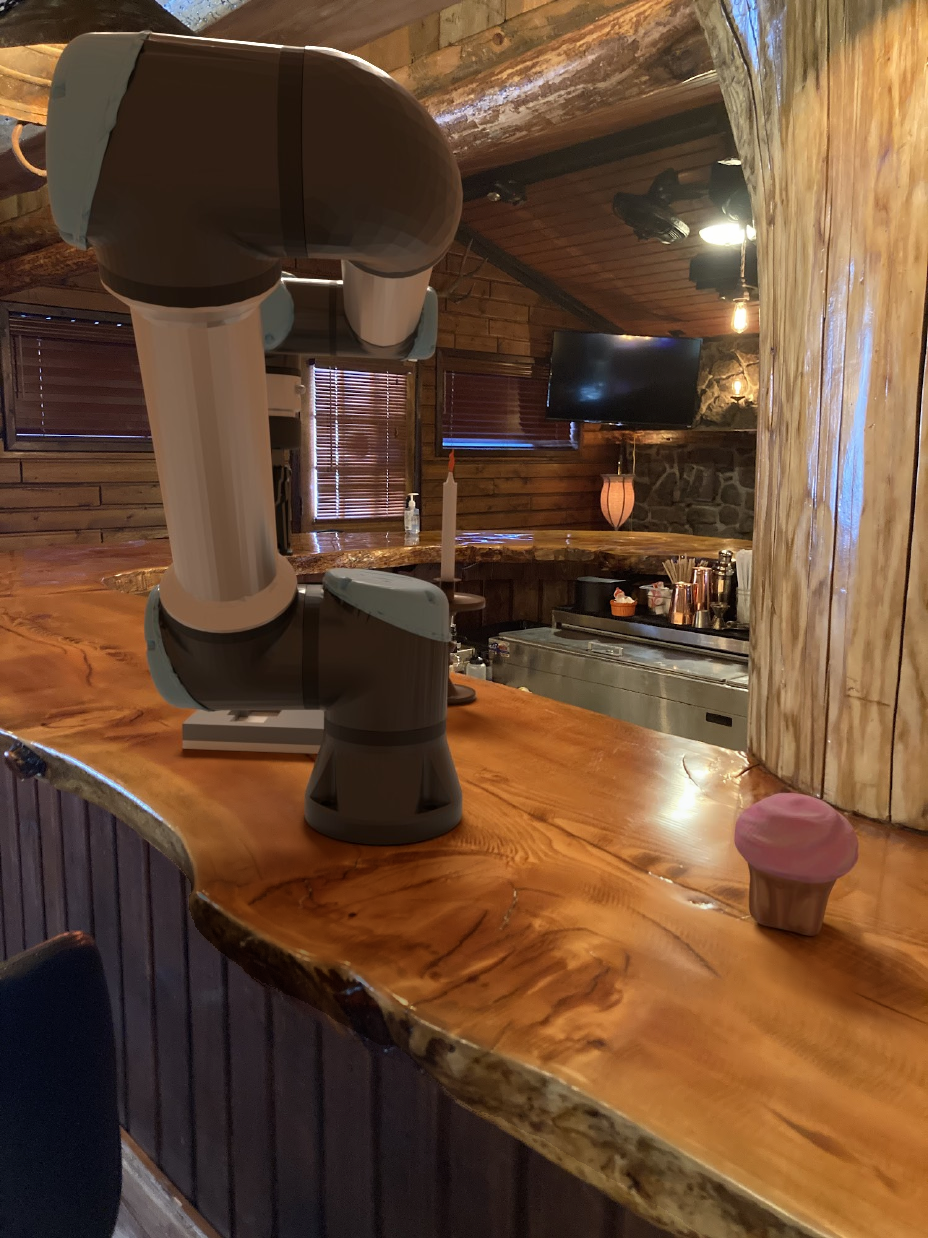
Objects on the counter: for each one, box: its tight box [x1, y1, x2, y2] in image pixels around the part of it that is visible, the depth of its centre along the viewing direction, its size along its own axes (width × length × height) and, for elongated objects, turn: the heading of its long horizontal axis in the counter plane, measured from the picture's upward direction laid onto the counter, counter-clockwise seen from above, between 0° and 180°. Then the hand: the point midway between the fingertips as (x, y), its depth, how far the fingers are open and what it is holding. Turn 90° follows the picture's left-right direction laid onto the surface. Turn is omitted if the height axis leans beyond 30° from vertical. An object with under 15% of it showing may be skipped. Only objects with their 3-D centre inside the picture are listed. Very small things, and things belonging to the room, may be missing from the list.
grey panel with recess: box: [181, 709, 324, 755], centre depth 112 cm, size 14×26×8 cm, turn 89°
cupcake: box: [733, 792, 859, 937], centre depth 70 cm, size 9×9×10 cm
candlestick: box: [433, 449, 486, 707], centre depth 129 cm, size 11×11×35 cm
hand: (269, 613), depth 111 cm, fingers closed on rook chess piece, 4 cm apart
